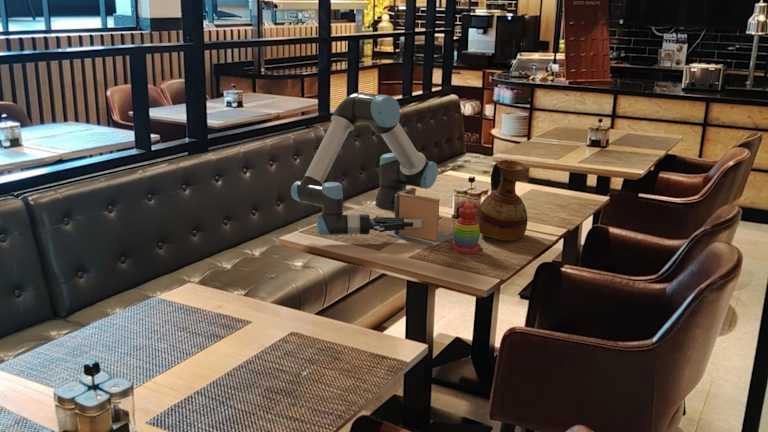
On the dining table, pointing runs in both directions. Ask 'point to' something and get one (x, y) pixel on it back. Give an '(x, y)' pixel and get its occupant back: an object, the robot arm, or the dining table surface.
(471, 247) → the stacking bear
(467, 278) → the dining table surface
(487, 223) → the ceramic pitcher
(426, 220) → the tan square panel
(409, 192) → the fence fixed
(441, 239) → the card
